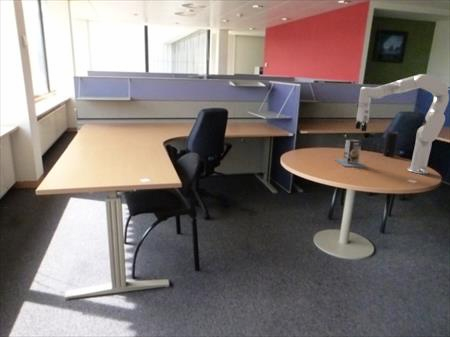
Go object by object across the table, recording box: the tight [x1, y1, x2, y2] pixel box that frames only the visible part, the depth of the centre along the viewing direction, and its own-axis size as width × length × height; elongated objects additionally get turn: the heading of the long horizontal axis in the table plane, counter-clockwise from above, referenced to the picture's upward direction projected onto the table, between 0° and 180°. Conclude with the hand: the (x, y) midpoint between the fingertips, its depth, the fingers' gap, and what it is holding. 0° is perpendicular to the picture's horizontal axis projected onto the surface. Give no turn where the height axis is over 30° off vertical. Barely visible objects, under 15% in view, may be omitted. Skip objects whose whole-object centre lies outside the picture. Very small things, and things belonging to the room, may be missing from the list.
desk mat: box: [333, 157, 368, 169], centre depth 249 cm, size 20×16×1 cm
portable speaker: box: [382, 130, 399, 158], centre depth 279 cm, size 9×9×20 cm
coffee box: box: [342, 139, 363, 163], centre depth 247 cm, size 9×6×16 cm
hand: (360, 129), depth 243 cm, fingers open, 9 cm apart
